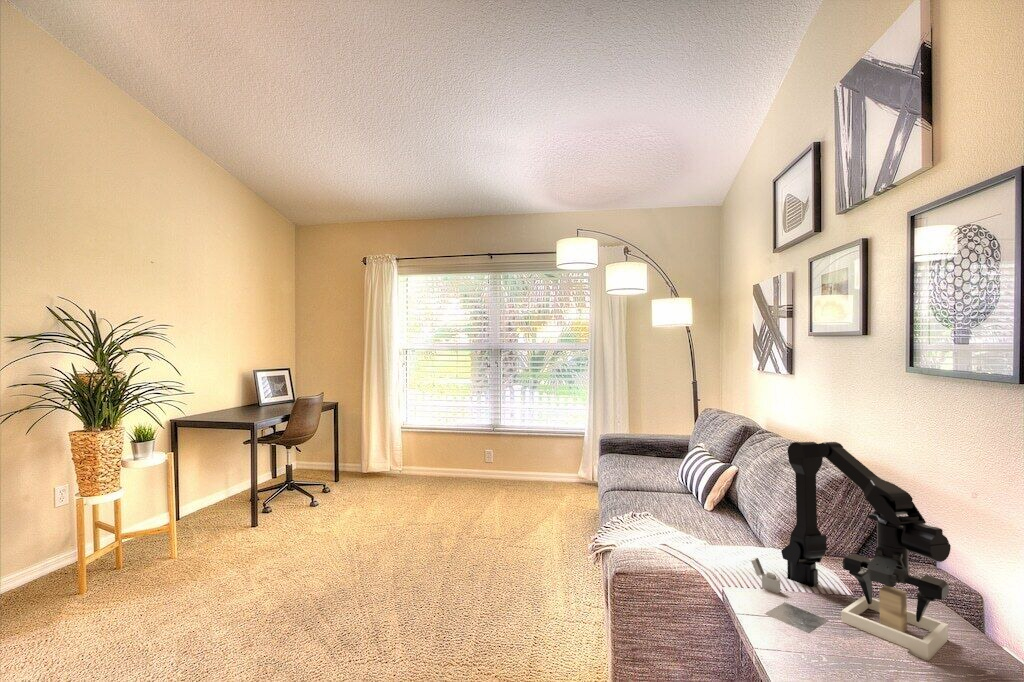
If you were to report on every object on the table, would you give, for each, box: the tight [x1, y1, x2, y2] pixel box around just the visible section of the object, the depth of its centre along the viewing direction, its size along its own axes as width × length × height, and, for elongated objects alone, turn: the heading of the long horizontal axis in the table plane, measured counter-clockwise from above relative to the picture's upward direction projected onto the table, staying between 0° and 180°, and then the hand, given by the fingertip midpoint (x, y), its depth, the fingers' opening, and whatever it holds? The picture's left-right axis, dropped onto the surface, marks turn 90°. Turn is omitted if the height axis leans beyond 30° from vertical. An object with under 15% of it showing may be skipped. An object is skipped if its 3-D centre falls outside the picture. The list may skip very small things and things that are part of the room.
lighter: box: [750, 557, 781, 594], centre depth 131 cm, size 7×2×8 cm, turn 38°
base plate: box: [764, 602, 829, 634], centre depth 116 cm, size 10×10×1 cm
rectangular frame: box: [840, 595, 949, 662], centre depth 111 cm, size 16×14×4 cm
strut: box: [878, 585, 908, 633], centre depth 112 cm, size 4×4×9 cm
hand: (893, 612), depth 112 cm, fingers open, 9 cm apart
